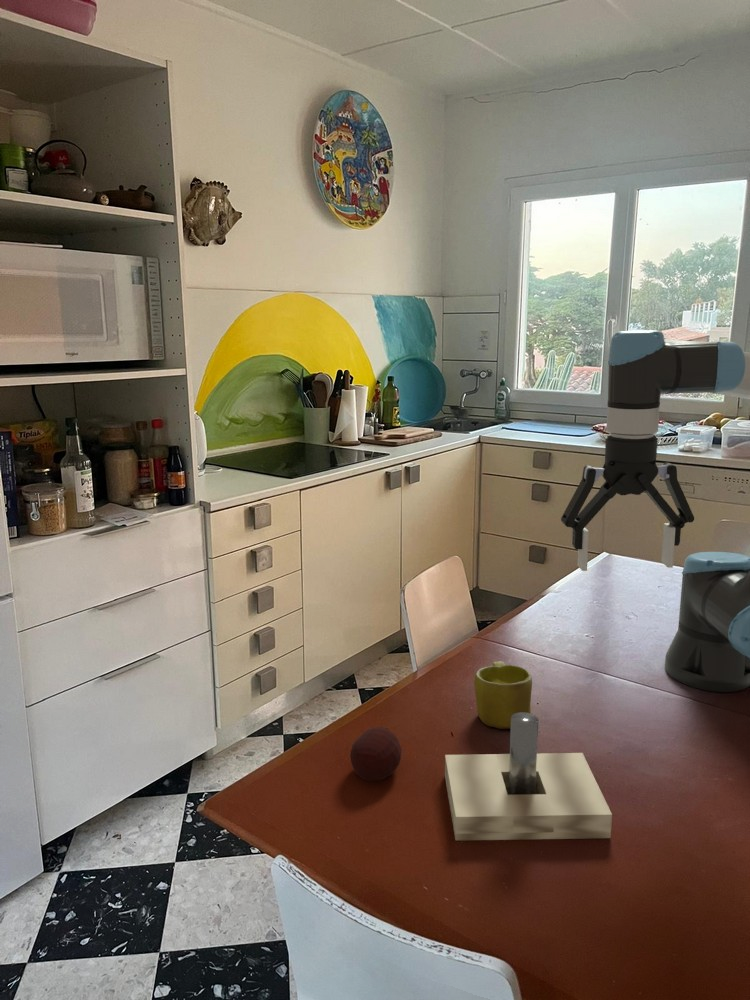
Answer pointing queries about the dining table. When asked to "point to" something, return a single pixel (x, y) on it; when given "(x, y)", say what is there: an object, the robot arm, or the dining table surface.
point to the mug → (502, 693)
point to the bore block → (525, 799)
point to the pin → (523, 754)
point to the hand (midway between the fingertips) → (624, 566)
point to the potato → (376, 754)
